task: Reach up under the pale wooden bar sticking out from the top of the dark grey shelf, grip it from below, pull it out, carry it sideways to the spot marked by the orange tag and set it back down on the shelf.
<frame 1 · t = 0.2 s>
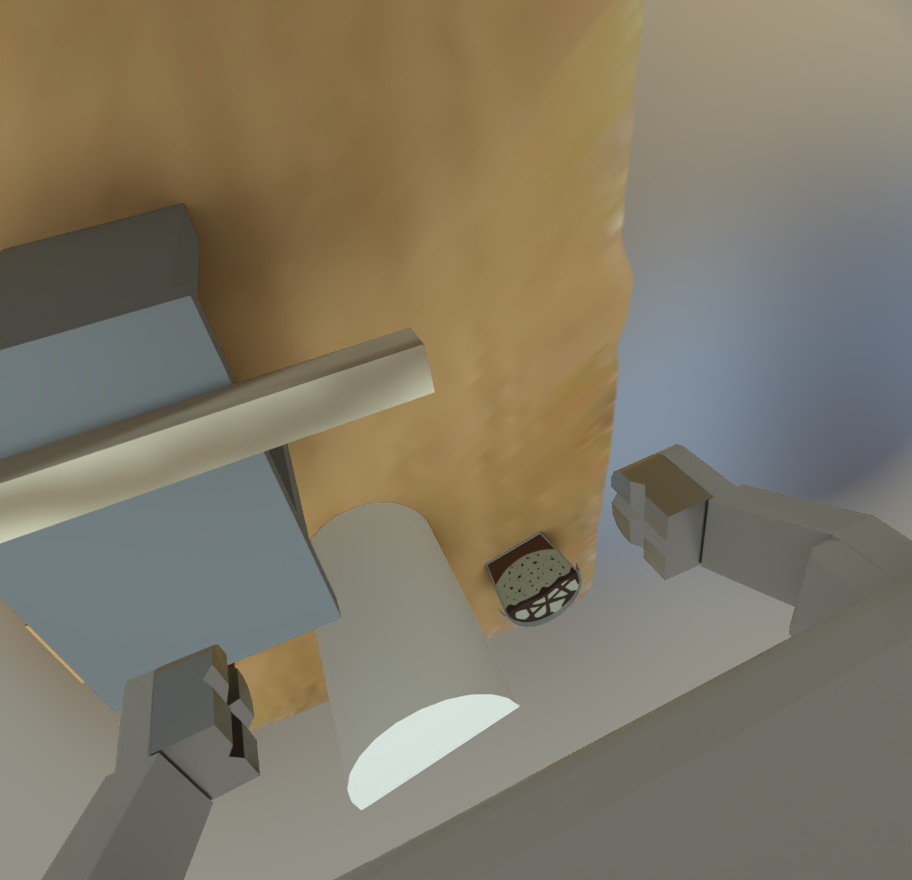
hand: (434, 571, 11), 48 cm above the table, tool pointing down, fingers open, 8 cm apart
food container: (518, 558, 86), on the table
shelf: (167, 361, 54), on the table
bar: (187, 426, 31), point 26 cm above the table, touching shelf
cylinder: (370, 555, 75), on the table
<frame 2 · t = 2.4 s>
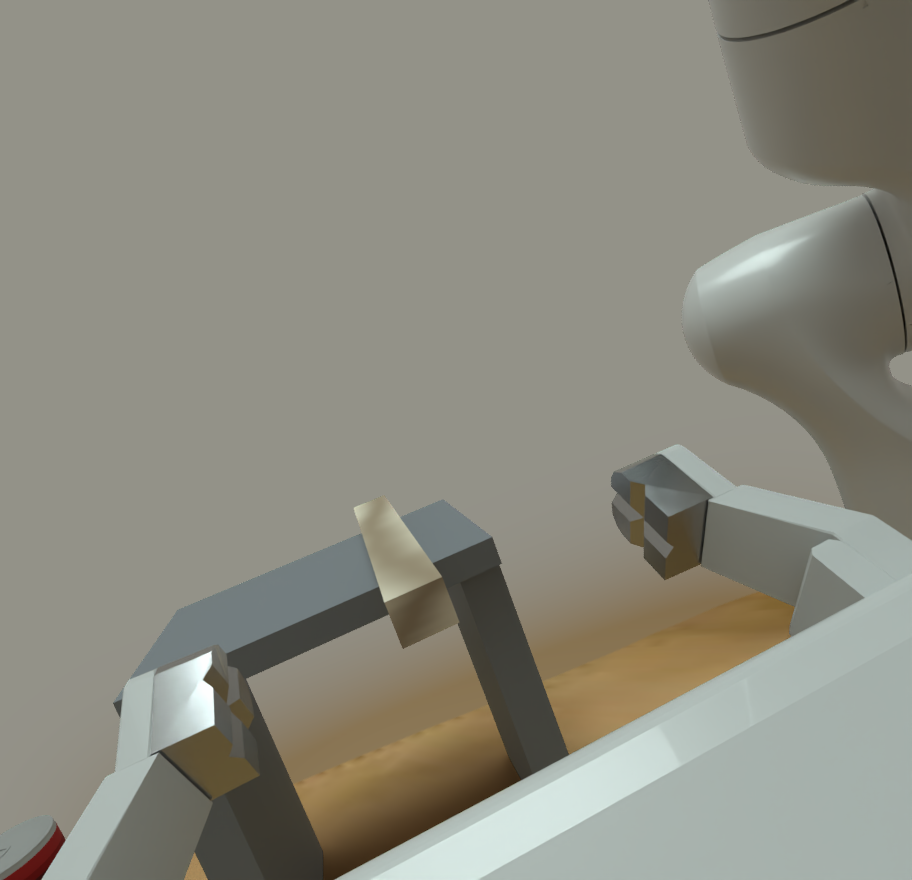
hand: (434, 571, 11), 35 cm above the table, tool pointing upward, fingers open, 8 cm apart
shelf: (432, 858, 48), on the table
bar: (396, 563, 41), point 26 cm above the table, touching shelf
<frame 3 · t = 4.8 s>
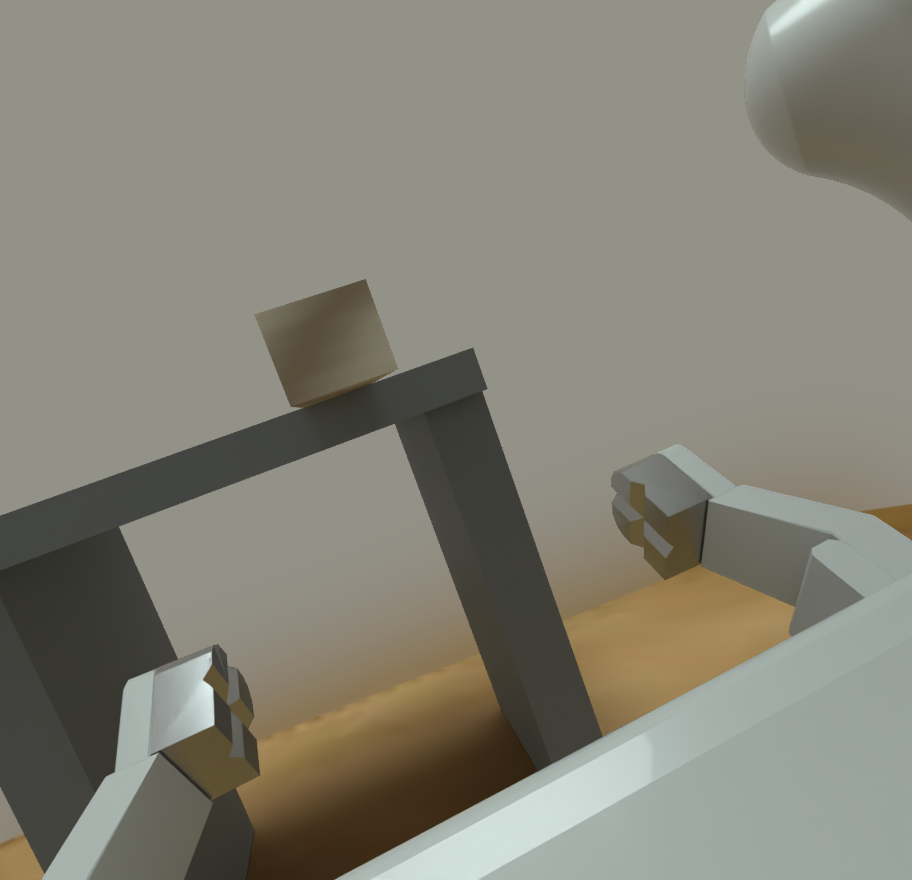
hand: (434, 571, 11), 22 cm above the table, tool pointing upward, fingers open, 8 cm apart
shelf: (394, 836, 35), on the table
bar: (335, 397, 28), point 26 cm above the table, touching shelf
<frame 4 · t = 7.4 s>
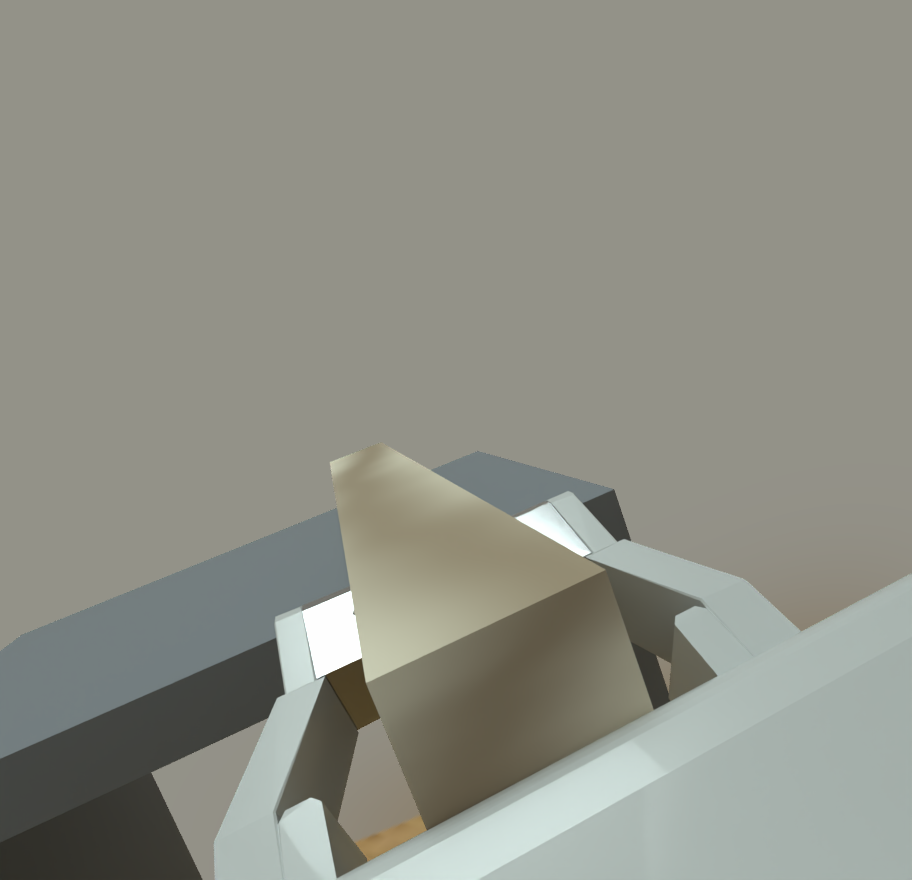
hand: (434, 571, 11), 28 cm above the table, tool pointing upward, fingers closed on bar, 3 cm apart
bar: (405, 549, 19), point 26 cm above the table, touching gripper, shelf
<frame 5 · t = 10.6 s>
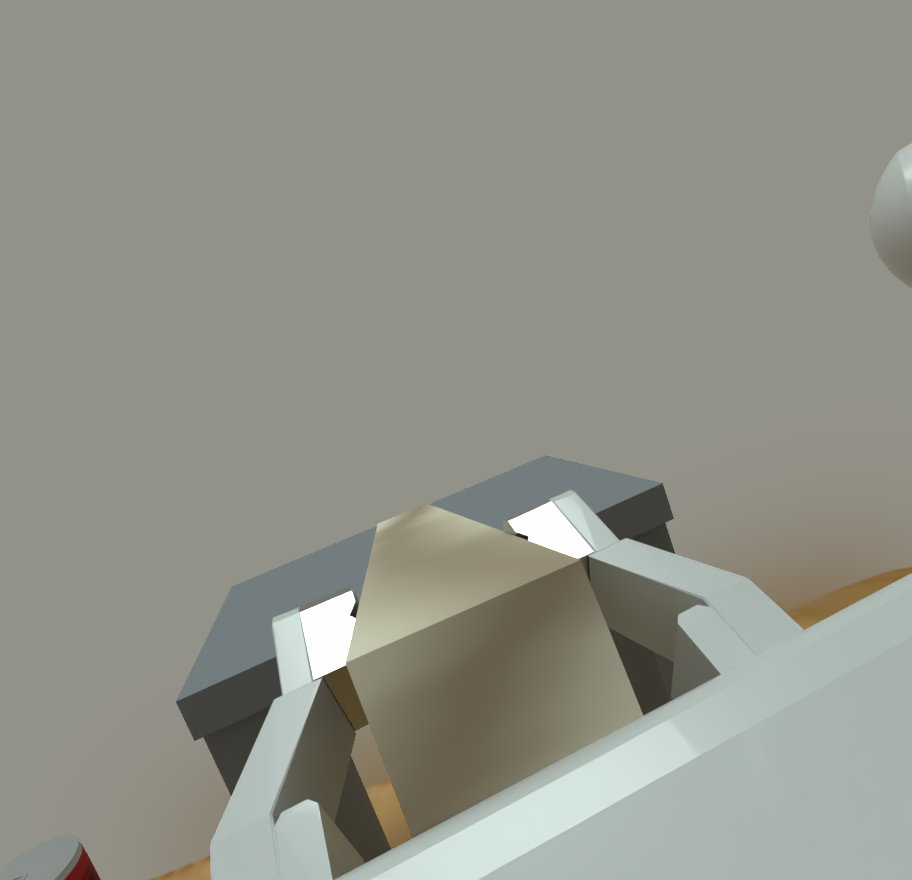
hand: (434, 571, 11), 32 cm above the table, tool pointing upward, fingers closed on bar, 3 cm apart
bar: (440, 598, 20), point 28 cm above the table, tilted 10°, touching gripper
when the fingers open (29 cm above the table, at t = 13.9 s): bar stays where it is, resting on shelf.
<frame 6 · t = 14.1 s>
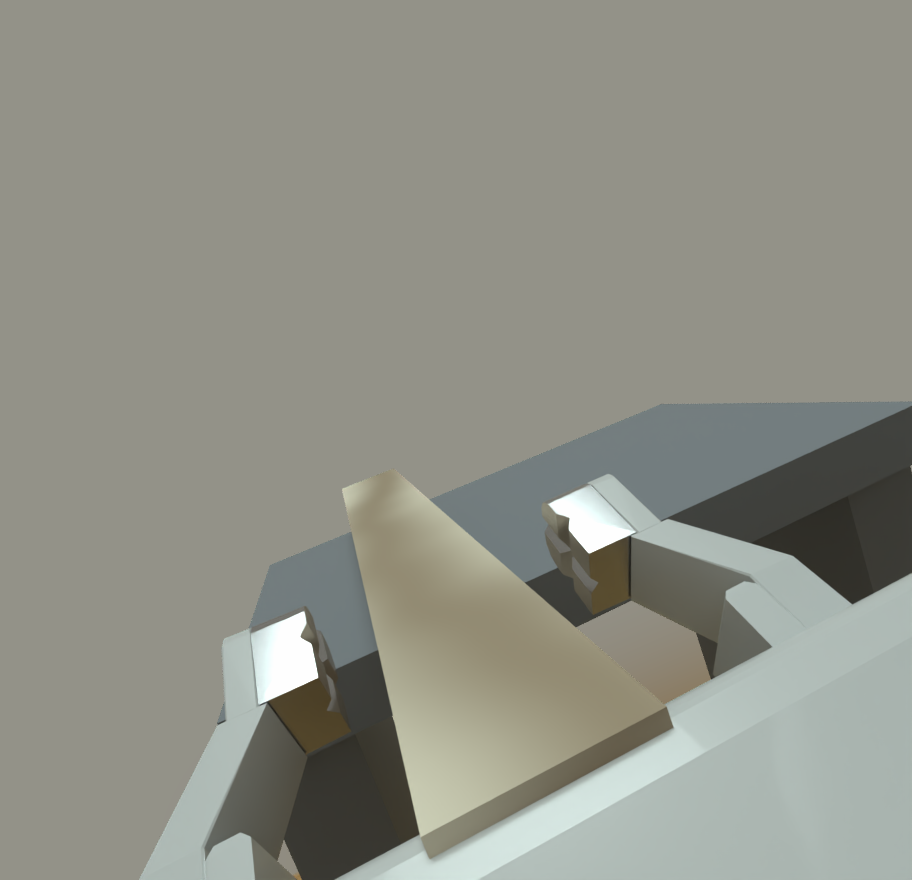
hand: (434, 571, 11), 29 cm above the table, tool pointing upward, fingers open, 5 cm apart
bar: (424, 594, 19), point 26 cm above the table, touching shelf
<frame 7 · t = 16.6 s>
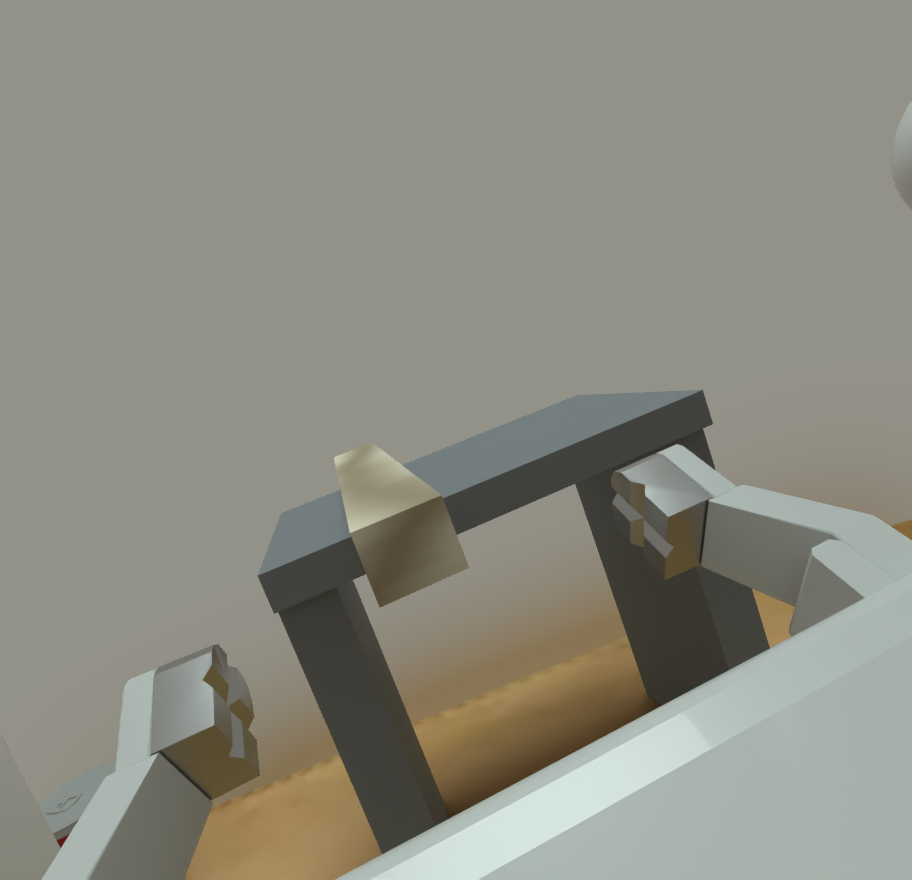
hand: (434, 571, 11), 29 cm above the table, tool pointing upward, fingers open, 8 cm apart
shelf: (587, 802, 40), on the table
bar: (382, 512, 30), point 26 cm above the table, touching shelf
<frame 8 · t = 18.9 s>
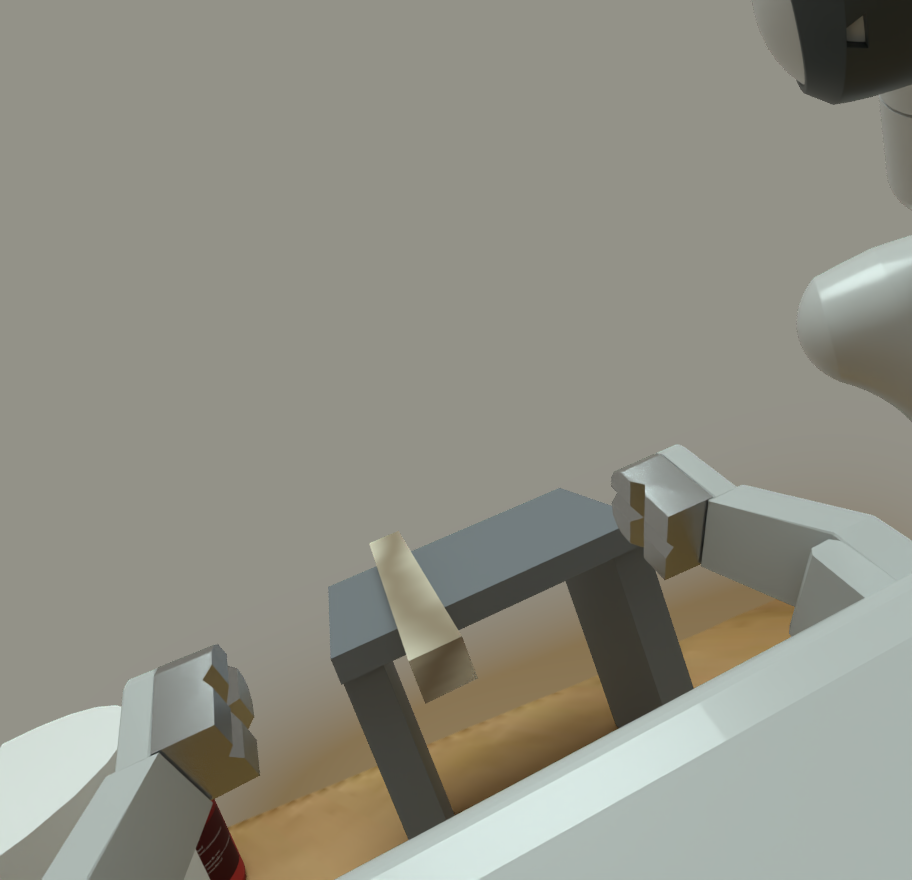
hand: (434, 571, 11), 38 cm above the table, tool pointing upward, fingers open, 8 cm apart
shelf: (564, 812, 53), on the table
bar: (413, 606, 43), point 26 cm above the table, touching shelf
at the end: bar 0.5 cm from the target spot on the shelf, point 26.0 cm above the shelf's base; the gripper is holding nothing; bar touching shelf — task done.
